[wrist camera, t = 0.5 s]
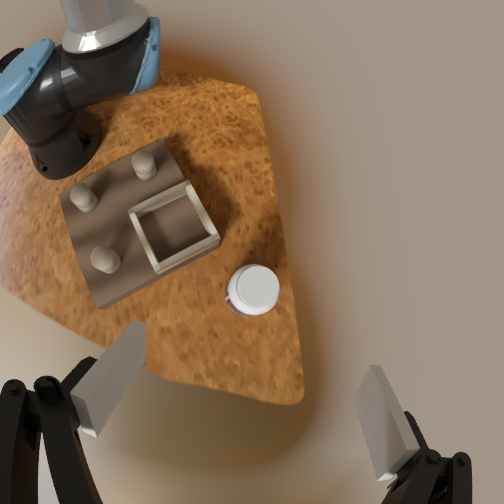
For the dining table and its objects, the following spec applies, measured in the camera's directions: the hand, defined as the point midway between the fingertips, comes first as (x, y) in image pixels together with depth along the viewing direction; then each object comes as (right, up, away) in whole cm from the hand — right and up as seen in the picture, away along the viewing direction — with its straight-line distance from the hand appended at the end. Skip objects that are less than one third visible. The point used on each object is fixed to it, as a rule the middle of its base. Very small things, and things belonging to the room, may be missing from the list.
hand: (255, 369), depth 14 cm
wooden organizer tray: (-19, +11, +26) cm, 34 cm away
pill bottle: (-1, 0, +26) cm, 26 cm away
